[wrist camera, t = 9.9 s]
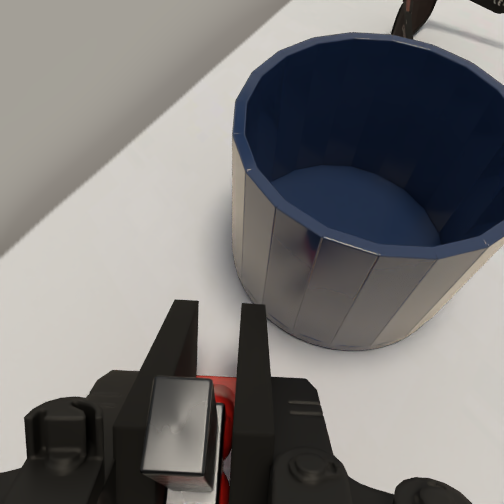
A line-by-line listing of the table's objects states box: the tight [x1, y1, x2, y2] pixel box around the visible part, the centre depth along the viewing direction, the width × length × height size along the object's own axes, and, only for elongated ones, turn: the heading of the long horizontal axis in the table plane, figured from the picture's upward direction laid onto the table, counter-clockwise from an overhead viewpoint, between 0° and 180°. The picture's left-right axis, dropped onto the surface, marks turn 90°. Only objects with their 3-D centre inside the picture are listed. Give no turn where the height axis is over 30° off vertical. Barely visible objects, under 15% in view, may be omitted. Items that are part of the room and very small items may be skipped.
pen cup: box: [232, 32, 504, 350], centre depth 18 cm, size 10×10×8 cm
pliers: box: [140, 375, 236, 504], centre depth 11 cm, size 3×7×12 cm, turn 178°
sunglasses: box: [391, 0, 504, 40], centre depth 26 cm, size 10×12×5 cm
